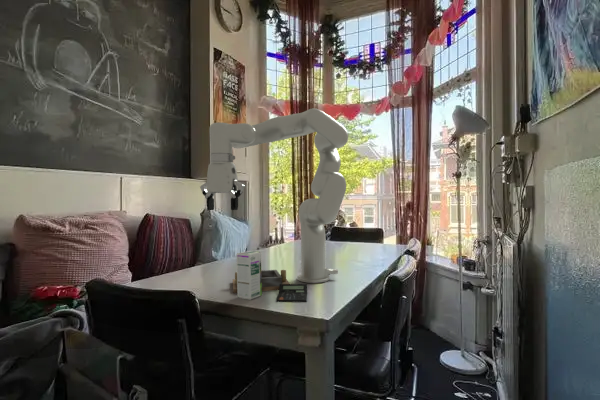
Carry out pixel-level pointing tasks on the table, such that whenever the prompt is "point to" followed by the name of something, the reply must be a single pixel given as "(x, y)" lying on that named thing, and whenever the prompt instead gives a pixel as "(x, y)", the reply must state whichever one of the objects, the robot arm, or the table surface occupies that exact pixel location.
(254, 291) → the syrup box
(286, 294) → the calculator
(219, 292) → the table surface
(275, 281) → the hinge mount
